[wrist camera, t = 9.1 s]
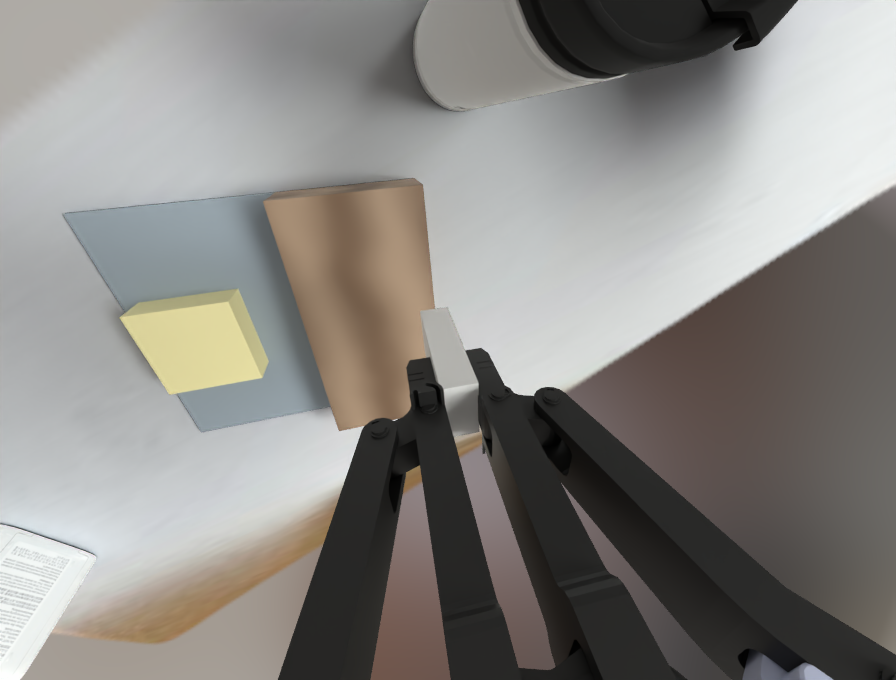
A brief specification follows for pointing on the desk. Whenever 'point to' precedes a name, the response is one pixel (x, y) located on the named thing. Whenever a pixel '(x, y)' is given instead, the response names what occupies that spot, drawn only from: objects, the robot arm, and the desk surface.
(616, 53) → the travel mug
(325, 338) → the brown wooden block
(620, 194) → the desk surface
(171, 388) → the note pad
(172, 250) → the rubber mat
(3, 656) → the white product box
